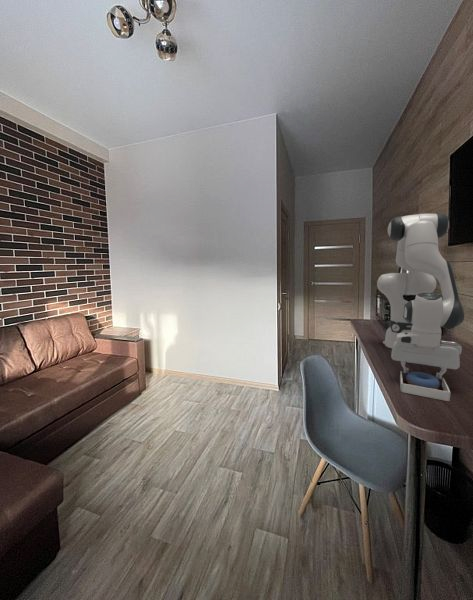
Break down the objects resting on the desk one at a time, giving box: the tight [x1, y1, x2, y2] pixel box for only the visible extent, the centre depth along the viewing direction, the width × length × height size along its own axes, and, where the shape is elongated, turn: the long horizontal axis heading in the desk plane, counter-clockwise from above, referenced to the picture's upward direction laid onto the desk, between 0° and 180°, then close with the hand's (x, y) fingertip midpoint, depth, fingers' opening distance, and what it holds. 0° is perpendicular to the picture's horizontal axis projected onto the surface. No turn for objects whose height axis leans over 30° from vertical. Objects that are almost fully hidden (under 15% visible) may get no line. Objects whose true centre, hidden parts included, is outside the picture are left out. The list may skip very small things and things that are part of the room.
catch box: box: [399, 370, 451, 403], centre depth 93 cm, size 13×13×3 cm
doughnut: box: [405, 371, 441, 390], centre depth 96 cm, size 10×10×5 cm
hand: (421, 375), depth 98 cm, fingers open, 8 cm apart
